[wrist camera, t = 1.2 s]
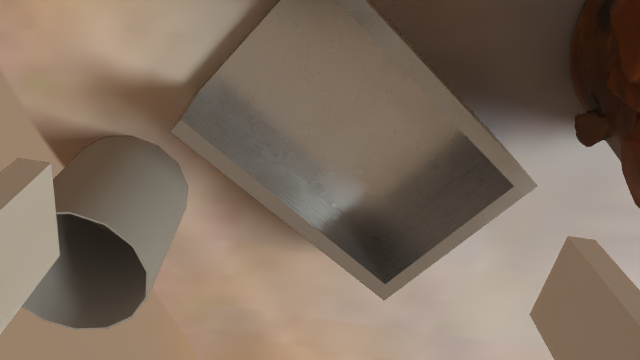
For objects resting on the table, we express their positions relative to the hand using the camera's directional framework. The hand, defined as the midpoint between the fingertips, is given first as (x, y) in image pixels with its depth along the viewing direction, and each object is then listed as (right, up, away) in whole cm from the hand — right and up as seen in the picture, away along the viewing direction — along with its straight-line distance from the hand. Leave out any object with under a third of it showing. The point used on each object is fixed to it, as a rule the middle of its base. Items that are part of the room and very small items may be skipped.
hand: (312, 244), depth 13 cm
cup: (-14, +1, +24) cm, 27 cm away
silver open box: (+2, +6, +21) cm, 22 cm away
